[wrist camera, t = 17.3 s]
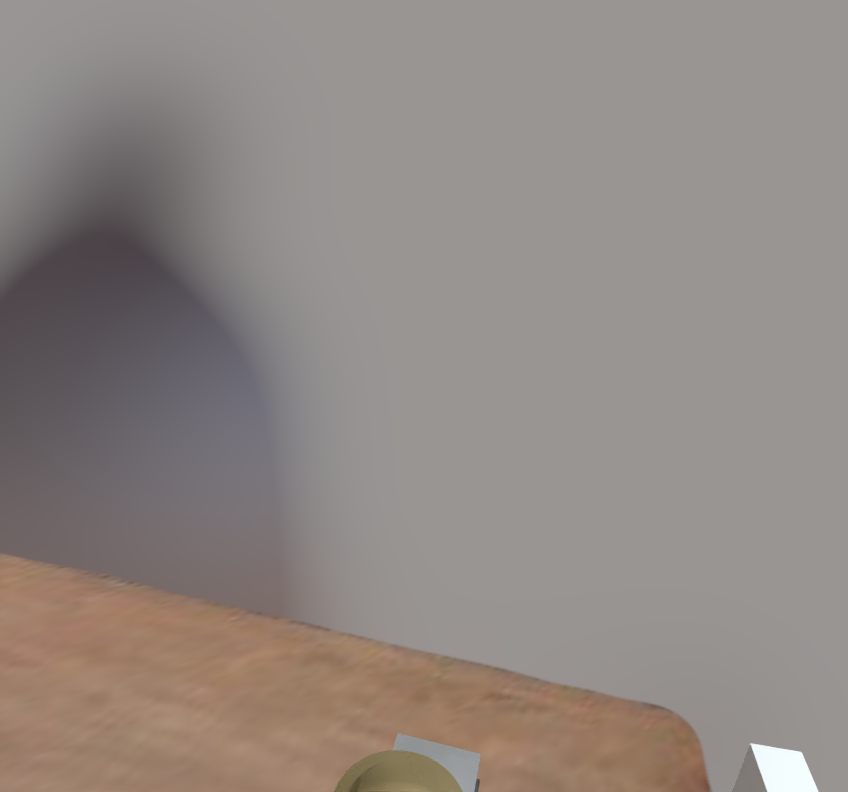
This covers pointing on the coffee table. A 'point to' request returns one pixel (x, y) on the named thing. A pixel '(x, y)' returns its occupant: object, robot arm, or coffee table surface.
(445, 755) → the grey link plate
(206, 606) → the coffee table surface
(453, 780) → the pin
